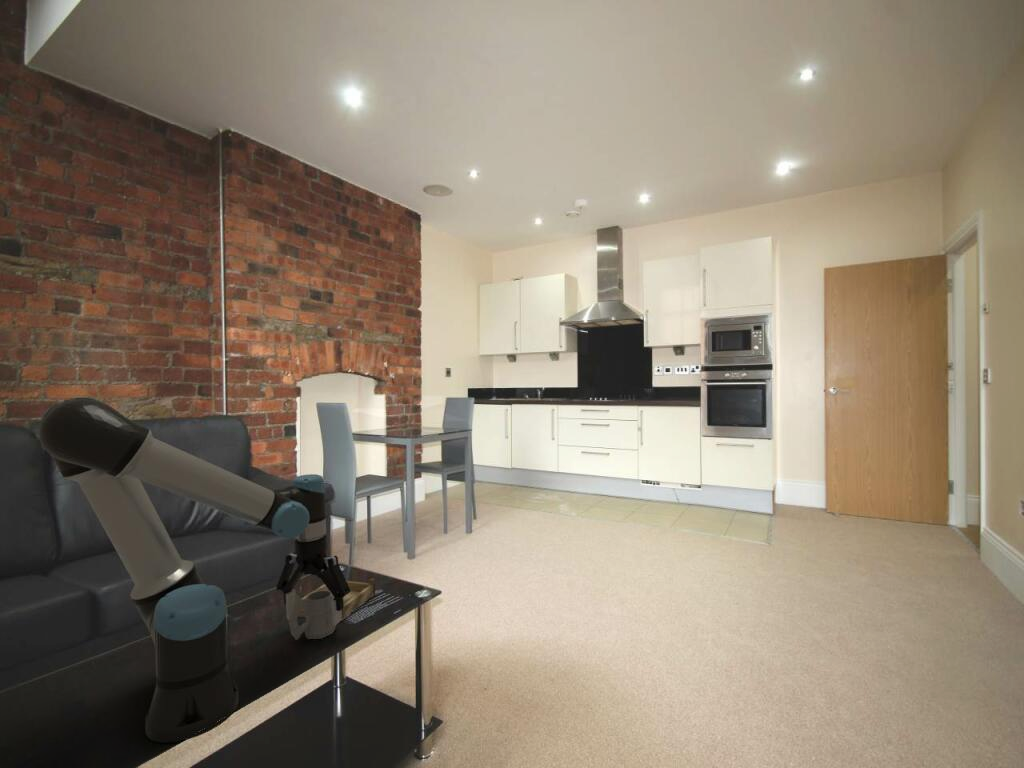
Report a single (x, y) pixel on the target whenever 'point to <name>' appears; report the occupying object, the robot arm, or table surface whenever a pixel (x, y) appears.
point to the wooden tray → (350, 596)
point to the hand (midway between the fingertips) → (314, 619)
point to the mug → (313, 615)
